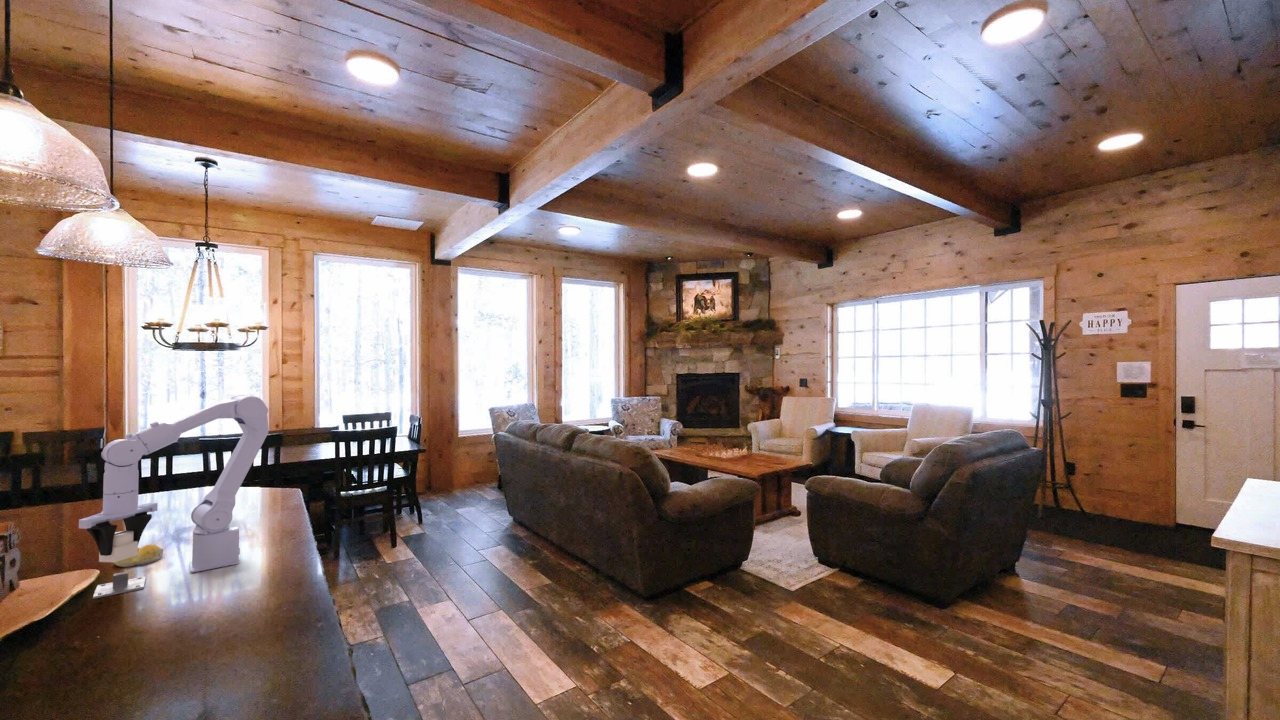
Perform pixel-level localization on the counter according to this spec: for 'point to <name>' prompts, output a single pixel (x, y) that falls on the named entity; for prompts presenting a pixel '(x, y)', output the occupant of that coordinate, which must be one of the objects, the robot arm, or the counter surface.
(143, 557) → the bread roll
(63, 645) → the counter surface
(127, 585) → the plate
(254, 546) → the counter surface
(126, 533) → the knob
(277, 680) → the counter surface
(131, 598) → the counter surface
